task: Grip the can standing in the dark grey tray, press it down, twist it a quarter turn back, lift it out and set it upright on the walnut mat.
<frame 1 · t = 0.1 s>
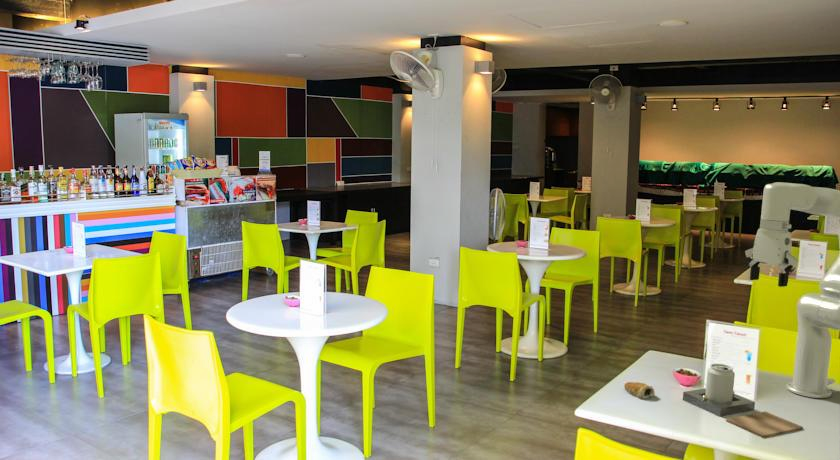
hand: (768, 283, 214), 37 cm above the table, tool pointing down, fingers open, 9 cm apart
can: (717, 405, 215), resting in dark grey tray
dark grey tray: (717, 404, 215), on the table
mat: (764, 425, 201), on the table
pastry: (638, 395, 222), on the table
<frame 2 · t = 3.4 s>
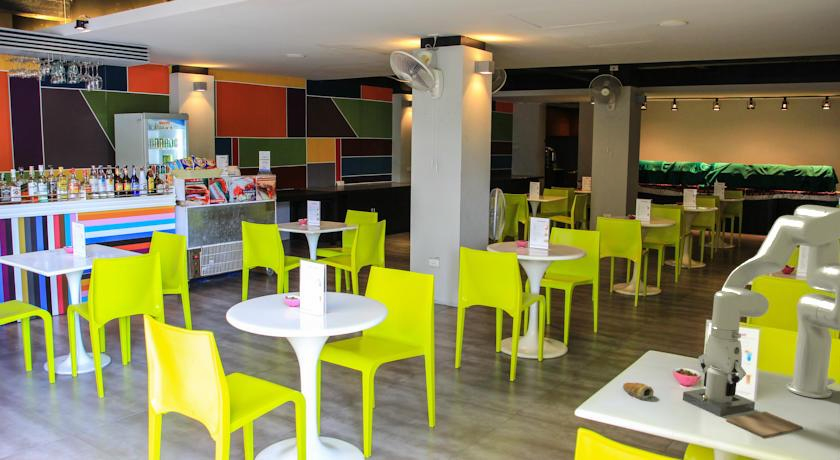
hand: (719, 390, 214), 4 cm above the table, tool pointing down, fingers closed on can, 7 cm apart
can: (717, 405, 215), resting in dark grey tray, touching gripper
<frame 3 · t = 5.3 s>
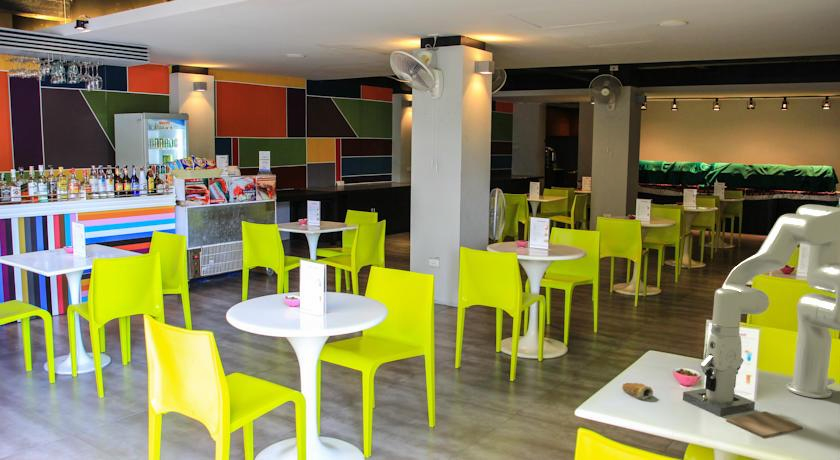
hand: (720, 387, 214), 5 cm above the table, tool pointing down, fingers closed on can, 7 cm apart
can: (719, 402, 215), point 1 cm above the table, touching gripper
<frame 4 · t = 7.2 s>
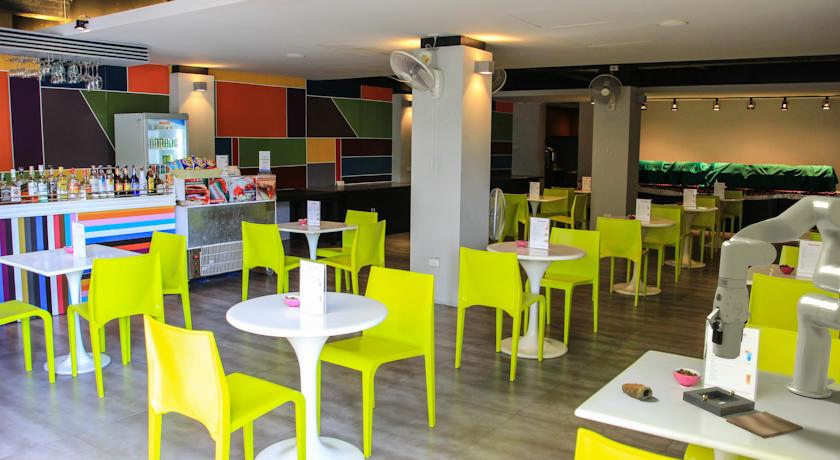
hand: (726, 341, 212), 20 cm above the table, tool pointing down, fingers closed on can, 7 cm apart
can: (725, 356, 212), point 15 cm above the table, touching gripper
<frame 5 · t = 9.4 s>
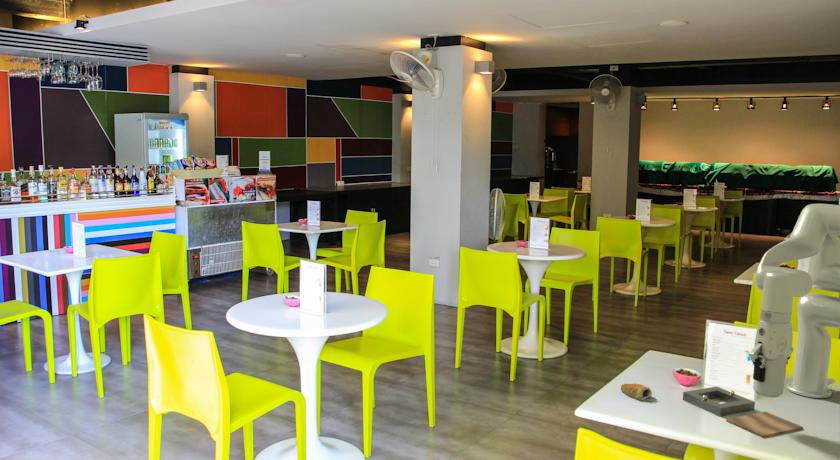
hand: (768, 378, 199), 13 cm above the table, tool pointing down, fingers closed on can, 7 cm apart
can: (767, 394, 199), point 9 cm above the table, touching gripper
when the fingers open (7 cm above the table, at t = 11.2 s): can drops 2 cm, resting on mat.
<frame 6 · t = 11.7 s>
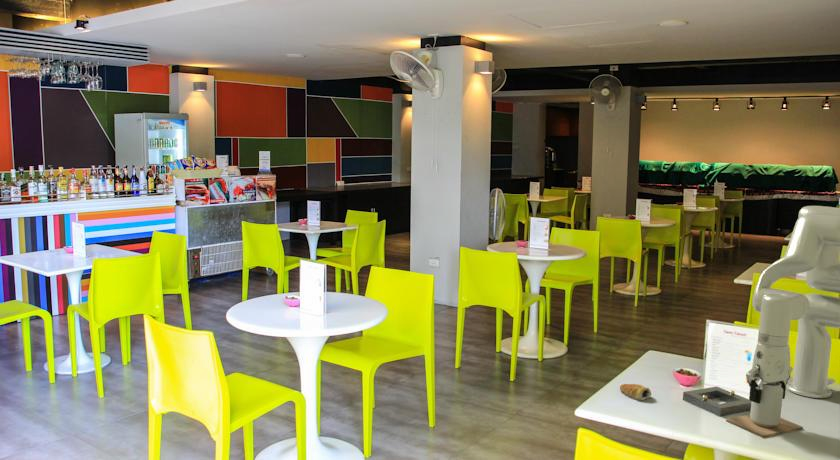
hand: (766, 399, 200), 7 cm above the table, tool pointing down, fingers open, 9 cm apart
can: (764, 423, 201), resting on mat
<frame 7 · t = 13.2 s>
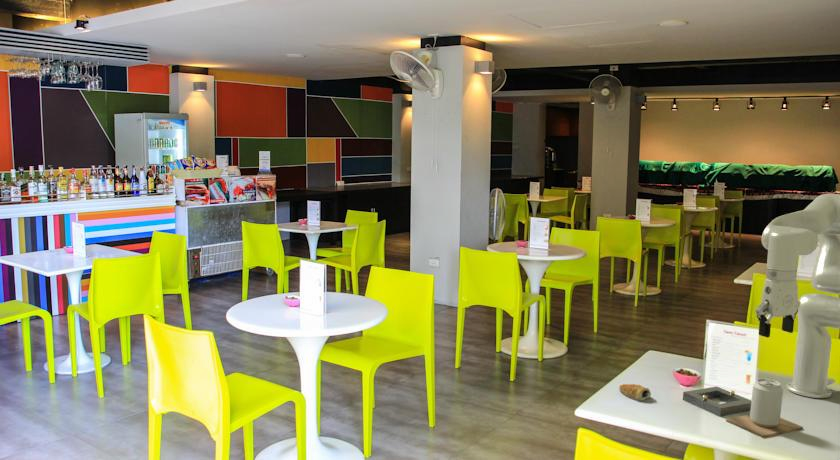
hand: (775, 333, 204), 24 cm above the table, tool pointing down, fingers open, 9 cm apart
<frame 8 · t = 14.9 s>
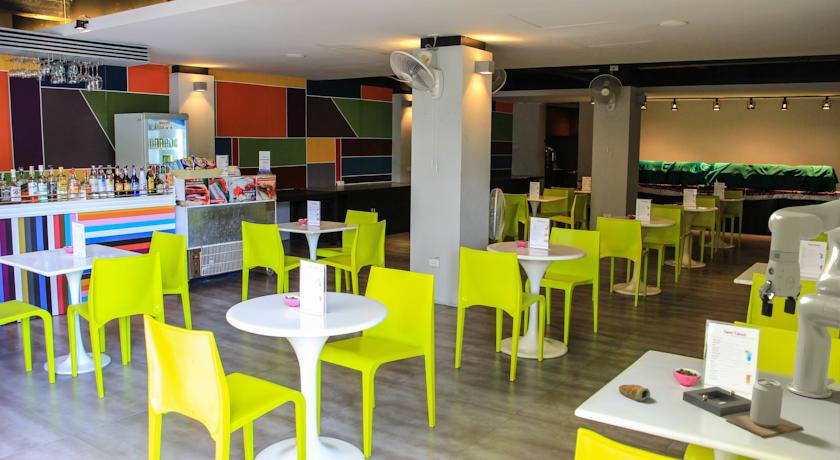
hand: (777, 314, 211), 28 cm above the table, tool pointing down, fingers open, 9 cm apart
at the end: can inside the target area on the mat (0.0 cm from its centre), point 0.4 cm above the mat's base; can tilted 0°; the gripper is holding nothing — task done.
